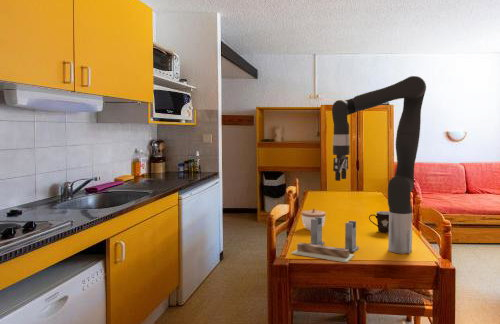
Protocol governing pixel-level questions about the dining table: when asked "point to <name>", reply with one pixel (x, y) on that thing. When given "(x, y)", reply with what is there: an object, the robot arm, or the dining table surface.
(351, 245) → the forked posts
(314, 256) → the white flat slab
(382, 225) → the coffee mug
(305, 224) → the lidded bowl
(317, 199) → the dining table surface
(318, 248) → the walnut bar
